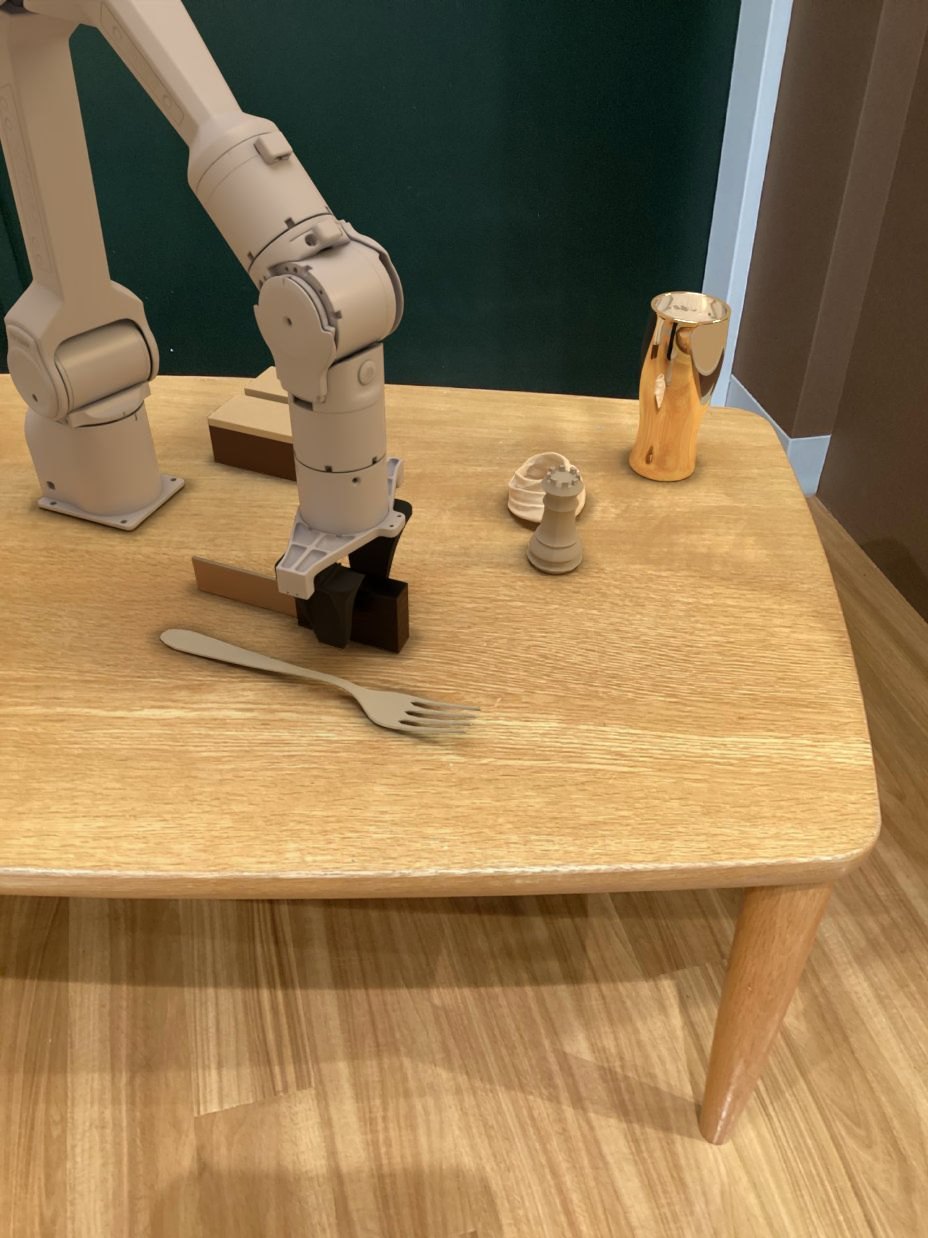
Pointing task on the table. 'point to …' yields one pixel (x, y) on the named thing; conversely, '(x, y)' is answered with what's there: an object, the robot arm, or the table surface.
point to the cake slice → (267, 387)
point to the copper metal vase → (677, 380)
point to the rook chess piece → (558, 523)
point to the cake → (253, 436)
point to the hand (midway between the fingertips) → (352, 616)
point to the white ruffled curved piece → (536, 486)
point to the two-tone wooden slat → (373, 615)
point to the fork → (376, 704)
